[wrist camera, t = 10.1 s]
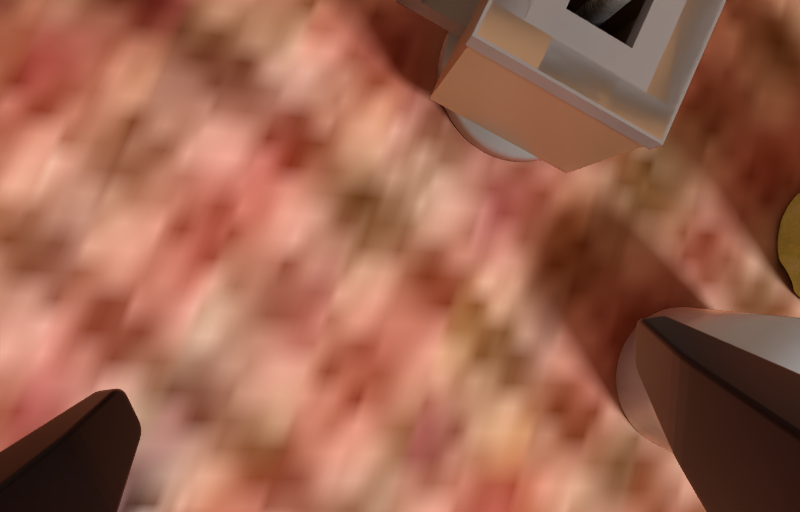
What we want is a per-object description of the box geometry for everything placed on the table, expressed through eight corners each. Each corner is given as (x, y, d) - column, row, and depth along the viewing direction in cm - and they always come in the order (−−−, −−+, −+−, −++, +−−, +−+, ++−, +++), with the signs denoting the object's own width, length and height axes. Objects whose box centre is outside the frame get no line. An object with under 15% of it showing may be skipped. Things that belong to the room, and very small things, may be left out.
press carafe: (556, 191, 22) (667, 159, 15) (358, 85, 20) (382, -3, 14) (621, 47, 22) (757, -46, 15) (433, -66, 21) (491, -222, 14)
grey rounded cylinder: (771, 395, 23) (925, 438, 17) (664, 477, 22) (786, 553, 16) (699, 279, 23) (830, 282, 17) (589, 359, 22) (684, 391, 16)
